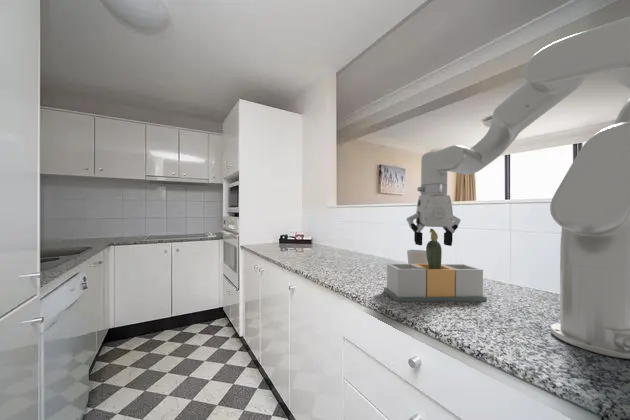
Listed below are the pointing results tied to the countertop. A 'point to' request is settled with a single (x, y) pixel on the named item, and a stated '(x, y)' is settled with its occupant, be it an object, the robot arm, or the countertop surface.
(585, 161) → the robot arm
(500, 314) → the countertop surface
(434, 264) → the vegetable
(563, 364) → the countertop surface
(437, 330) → the countertop surface
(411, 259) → the cup
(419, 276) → the compartment organizer
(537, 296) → the countertop surface
